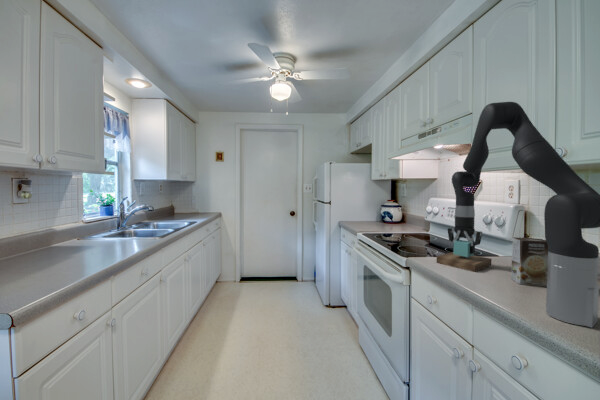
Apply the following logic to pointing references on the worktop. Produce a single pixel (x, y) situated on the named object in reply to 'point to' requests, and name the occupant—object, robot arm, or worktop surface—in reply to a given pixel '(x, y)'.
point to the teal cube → (462, 248)
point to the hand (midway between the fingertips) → (463, 252)
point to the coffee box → (529, 261)
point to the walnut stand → (464, 261)
